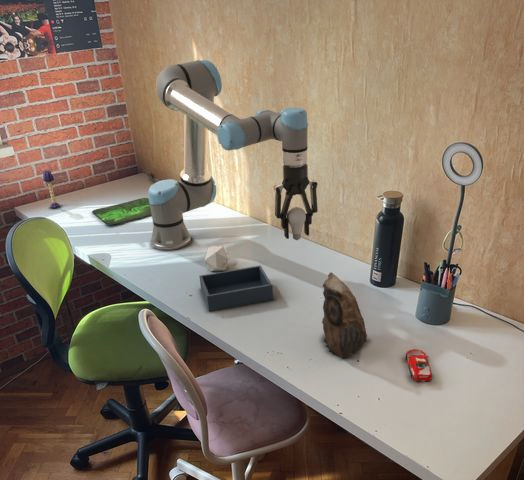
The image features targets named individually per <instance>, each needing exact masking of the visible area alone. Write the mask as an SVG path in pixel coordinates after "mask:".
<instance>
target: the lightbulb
mask: <svg viewBox="0 0 524 480" xmlns="http://www.w3.org/2000/svg"><path fill="white" fill-rule="evenodd" d="M305 213H306V210H304V209H303V208H301V207H299V206H294V207H291V208H290V209H288V213H287V216H286V217H287V218H288V223H289V227H290V229H291V233H292V239H293V240H295V241H299V240H301V237H302V230H303V227H304V222H305V220H306V214H305Z"/></svg>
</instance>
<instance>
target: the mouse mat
mask: <svg viewBox="0 0 524 480" xmlns="http://www.w3.org/2000/svg"><path fill="white" fill-rule="evenodd" d="M91 214H92V215H94V216H95V217H96V218H98V219H99V220H100V221H101V222H102V223H104V224H105V225H106V226H116V225H119V224H123V223H128V222H131V221H134V220H135V221H136V220H139V219H142V218H145V217H146V218H147V217H150V216H152V214H151V208H150V203H149V197H148V198H147V197H142V198H137V199H133V200H130V201H126V202H121V203H118V204H113V205H110V206H106V207H105V206H104V207H100V208H96V209H93V210H92V211H91Z"/></svg>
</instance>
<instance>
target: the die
mask: <svg viewBox="0 0 524 480" xmlns="http://www.w3.org/2000/svg"><path fill="white" fill-rule="evenodd" d="M229 260H230V256H229V253H228V252H227V250H226V248H225V246H208V248H207V252H206V254H205V258H204V262H205V264H206V266H207V268H208V269H209V271H210V272H224V271H227V266H228V265H229V264H228V263H229Z"/></svg>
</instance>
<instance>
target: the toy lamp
mask: <svg viewBox="0 0 524 480" xmlns="http://www.w3.org/2000/svg"><path fill="white" fill-rule="evenodd" d="M42 180H43V182H45V183H47V186H48V190H49V194H50V199H51V203H50V209H52V210H54V209H59V208H60V207H61V205H60V204H59V203H58V202H57V201H56V197H55V191H54V188H53V184H52V182H53V181H54V180H55V177H54V175H53V173H52V172H51V170H49V169H48V170H47V169H46V170H44V171H43V175H42Z"/></svg>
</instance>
